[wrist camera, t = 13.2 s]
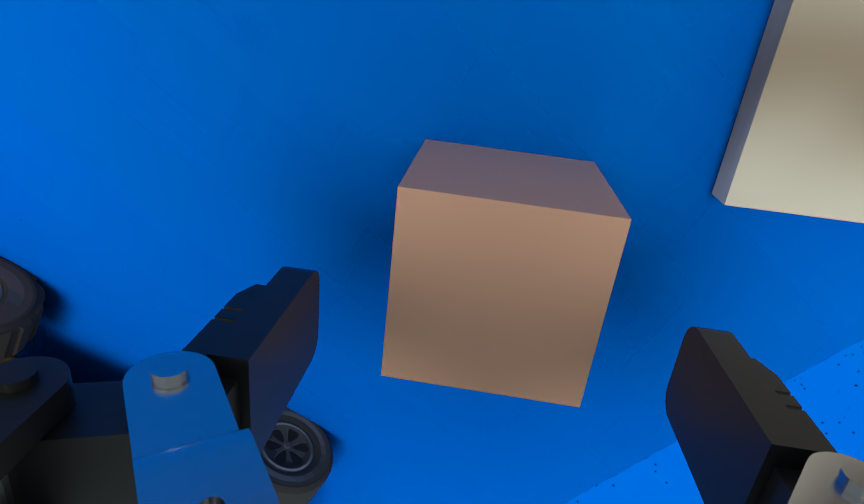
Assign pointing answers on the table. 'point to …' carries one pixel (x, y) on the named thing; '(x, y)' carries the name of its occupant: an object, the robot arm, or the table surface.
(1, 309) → the motor vehicle
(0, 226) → the table surface
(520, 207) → the terracotta cube
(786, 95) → the cream flat pad
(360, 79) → the table surface
